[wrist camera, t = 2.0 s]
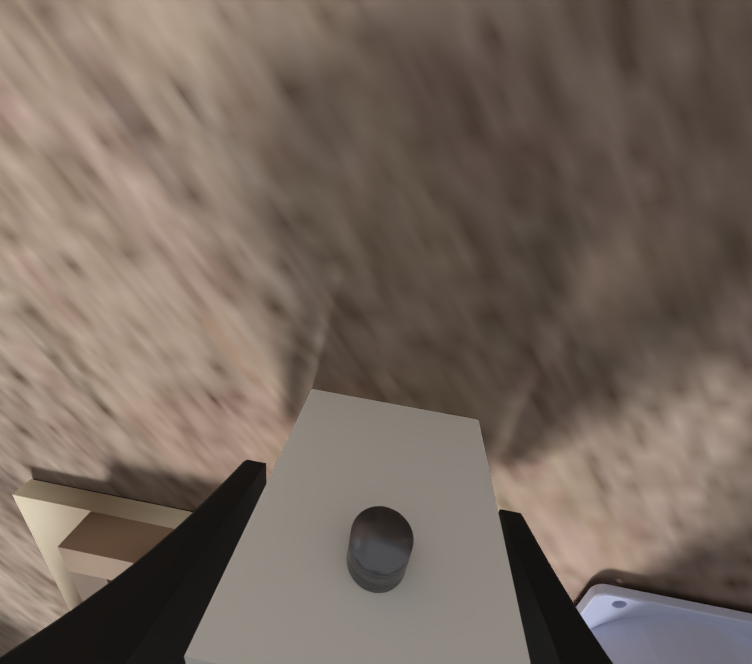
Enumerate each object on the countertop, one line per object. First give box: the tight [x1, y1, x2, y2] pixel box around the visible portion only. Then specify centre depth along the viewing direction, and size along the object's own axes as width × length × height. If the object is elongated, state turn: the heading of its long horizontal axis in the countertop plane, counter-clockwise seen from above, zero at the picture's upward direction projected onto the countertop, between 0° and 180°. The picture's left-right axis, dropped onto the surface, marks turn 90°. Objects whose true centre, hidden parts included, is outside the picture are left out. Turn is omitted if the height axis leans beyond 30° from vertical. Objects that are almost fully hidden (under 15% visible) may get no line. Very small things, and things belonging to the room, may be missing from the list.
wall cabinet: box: [184, 389, 531, 664], centre depth 9 cm, size 6×6×7 cm
